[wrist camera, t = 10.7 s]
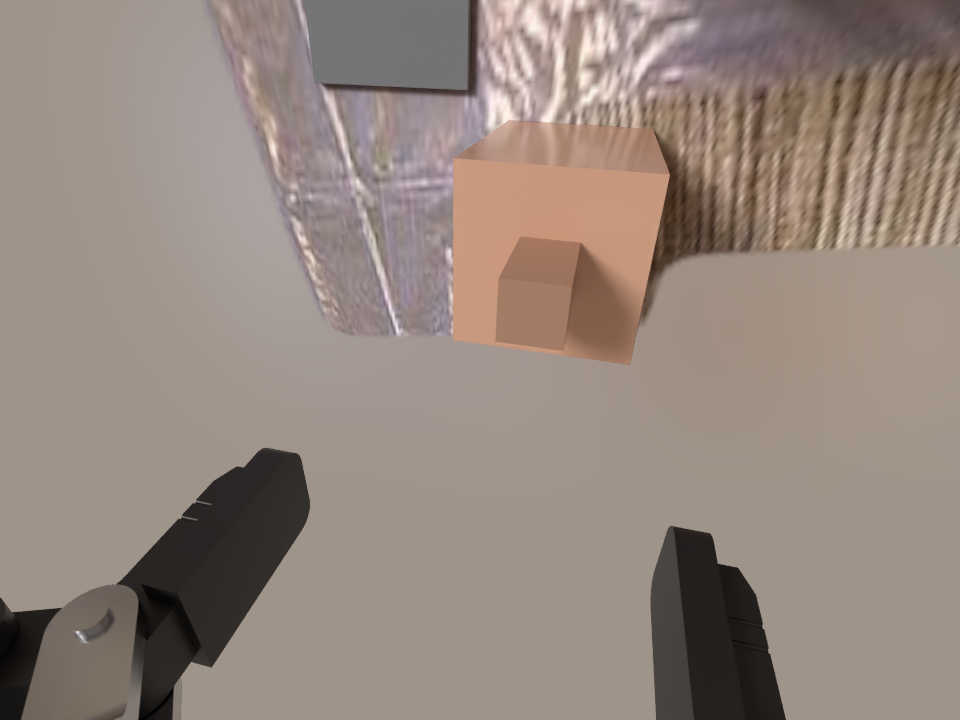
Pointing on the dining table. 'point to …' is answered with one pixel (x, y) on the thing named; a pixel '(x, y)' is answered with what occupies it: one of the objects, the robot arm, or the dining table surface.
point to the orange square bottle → (556, 237)
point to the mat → (391, 42)
